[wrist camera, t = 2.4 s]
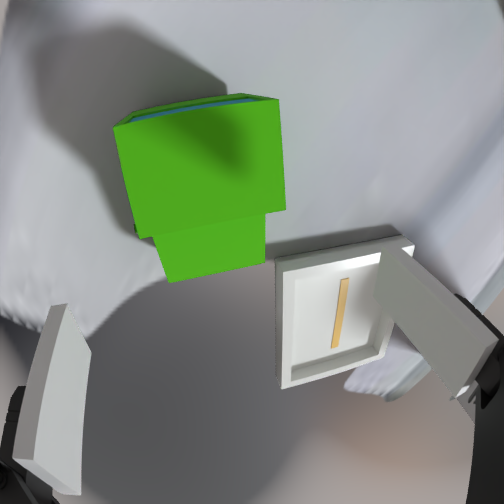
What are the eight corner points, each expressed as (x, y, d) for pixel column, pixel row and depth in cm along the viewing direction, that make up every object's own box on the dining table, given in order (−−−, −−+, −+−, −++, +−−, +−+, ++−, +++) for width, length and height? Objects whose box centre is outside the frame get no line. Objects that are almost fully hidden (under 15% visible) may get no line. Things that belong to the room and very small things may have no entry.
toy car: (155, 259, 28) (155, 337, 20) (121, 113, 22) (92, 132, 13) (264, 237, 30) (304, 304, 22) (251, 91, 23) (298, 97, 15)
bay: (274, 258, 31) (283, 272, 29) (401, 234, 34) (414, 245, 32) (275, 375, 41) (281, 389, 39) (375, 345, 44) (383, 357, 42)
